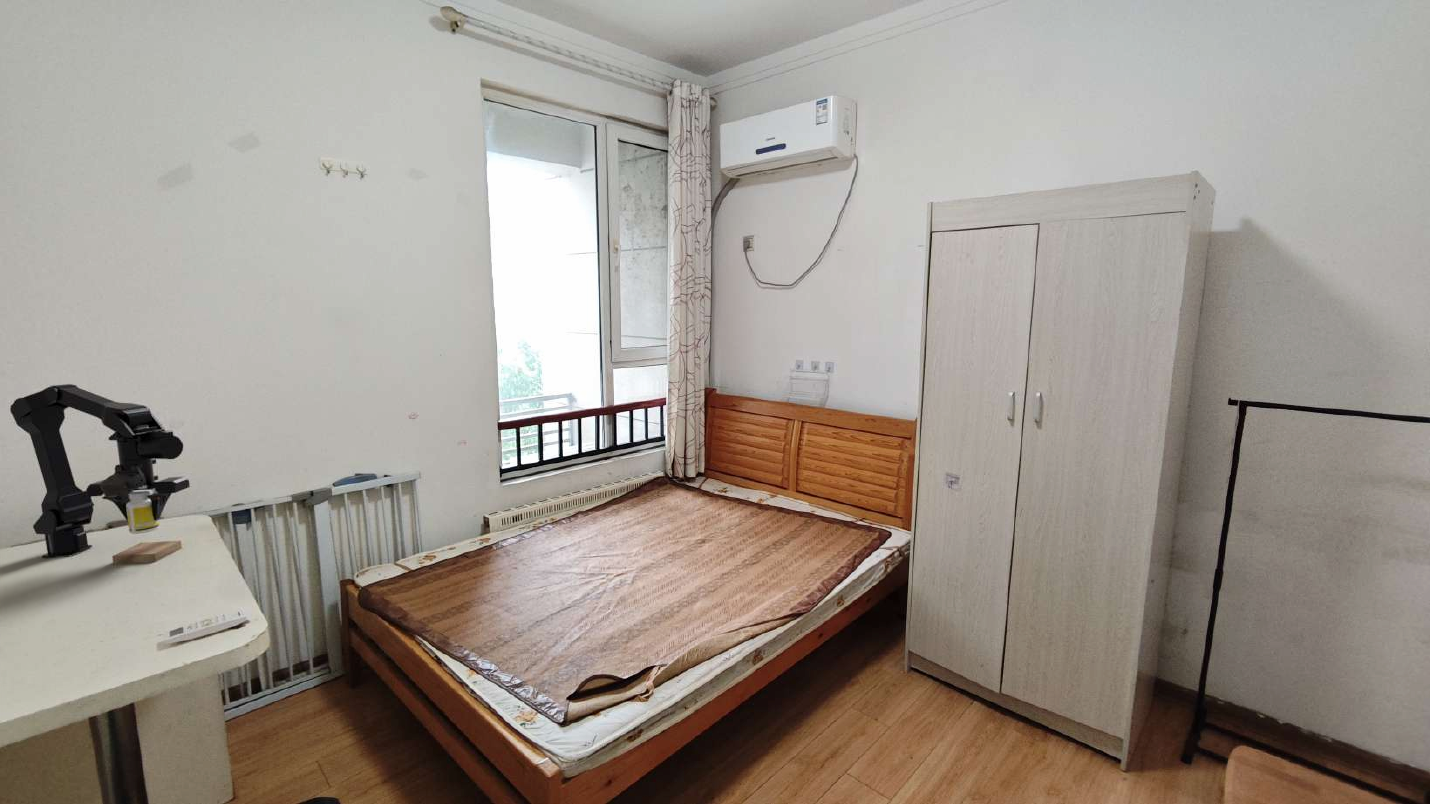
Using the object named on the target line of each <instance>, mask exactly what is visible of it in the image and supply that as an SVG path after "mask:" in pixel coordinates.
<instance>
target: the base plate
mask: <svg viewBox="0 0 1430 804" xmlns="http://www.w3.org/2000/svg"><path fill="white" fill-rule="evenodd" d="M180 549H182V540H170V541H169V540H167V541H149V542H140V543H138V544H135V545H133V546H132V547H131V546H130V547H128V548H126V549H125V550H122V551H120V552H118V553H116V554H114V555H112V564H113V565H120V564H121V565H123V564H135V563H137V564H140V563H153V562H154V563H155V562H157V561H160V560H162V559H164V558H166V557H167V556H169V555H172V554H173V553H175V552H177V551H178V550H180ZM159 559H160V560H159Z"/></svg>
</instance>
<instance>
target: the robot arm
mask: <svg viewBox="0 0 1430 804" xmlns="http://www.w3.org/2000/svg"><path fill="white" fill-rule="evenodd" d="M69 408H71V409H74V410H77V411H79V412H82V413H85V414H87V415H89V416H92V417H95V418H97V419H99V420H101V423H102V426H105V427H107V428H108V429H110V431H111V430H112V431H113V433H112V435H110V436H109V437H108V438H107V439H108V440H109V441H116V447H117V453H118V463H119V464H115V466H114V473H113V474H111V475H110V476H108V477H107V478H105V479H102V480H99V481H96V482H93V483H89V484H88V486H87V488H85V489H86V490H82V489H81V488H80V487H78V486H77V485H76V483H75V482H76V481H75V478H74V476H73V472H72V468H71V465H70V462H69V459H68V454H67V451H66V448H65V445H64V442H63V438H62V435H61V431H60V429H61V426H62V425H63V423H64V421H65V419H66V416H65V410H66V409H69ZM9 410H10V413H11V415H12V417H13V419H14V422H15V423H16V425H17V426H18V427H19V428H20V429H22V430H23V431H25V432H26V433H27V434H28V435H30V439H31V442H32V446H33V449H34V453H35V456H36V460H37V463H38V466H39V469H40V473H41V475H42V479H43V482H44V485H45V489H46V493H45V494H44V495H45V496H44V498H43V500H42V502H41V505H40V506H41V511H42V514H40V516H39V518H38V519H37V520H36V521H35V523H34V524H33V525H32V528H33V531H34V532H35V534H36V535H44V539H45V546H46V552H47V553H44V554H42V555H41V558H57V557H58V558H59V557H70V556H69V555H72V556H74V555H76V554H75V553H77V552H79V553H81V552H83V550H84V551H85V549H86V550H88V549H91V548H93V545H92V544H89V543H88V535H87V532H86V531H85V528H84V526H85V525H90V524H91V523H92V517H93V513H94V506H95V504H94V503H95V502H93V500H92V497H101V496H102V497H101V499H102V500H108V501H109V502H112V503H114V505H115V506H116V507H117V508H118V510H119V512H121V514H122V516H123V517H124V519H126V522H128V517H127V509H126V504H127V503H128V502H130V501H131V499H129V493H130V492H133V491H139V490H151V491H152V493H151V494H150V495H148V496H147V497H148V498H149V499H150V500H151V503H152V512H153V518H154V520H155V521H156V520H158V521H159V520H160V518H161V515H162V514H163V511H164V509H165V506H166V505H167V502H168V500H169V499H170V497H171V495H172V494H176V493H178V492H180V491H183V490H186V489H188V488H191V487H190V480H189V479H188V478H187V477H186V476H172V477H171V476H169V477H166V478H164V479H161V480H159V475H154V466H153V465H155V464H157V460H175V459H177V458H178V457H180V456H181V454H182V453H183V450H184V442H183V441H182V439H180V438H179V437H178V436H176V435H174V431H173V430H166V429H165V427H164V426H163V424H161V422H160V421H159V420H158V419H157V418H156V416H155V415H154V414H153V413H152V411H151V409H150V407H147V406H145V405H142V404H138V403H137V404H136V403H129V402H119V401H114V400H113V399H108V398H106V397H103V396H101V395H98V394H96V393H93V392H91V391H88V390H85V389H82V388H80V387H79V386H77V385H75V384H73V383H72V384H71V383H67V384H57V385H56V384H55V385H50V386H49V387H48V386H47V387H46V388H44V389H43V390H41V391H37V392H34V393H32V394H30V395H26V396H24V397H19V398H16V399H15V400H14V402H13V403H12V404H11V405H10V409H9ZM157 480H159V481H157ZM103 495H104V496H103ZM90 547H91V548H90ZM87 548H88V549H87ZM73 554H74V555H73ZM77 554H78V553H77Z"/></svg>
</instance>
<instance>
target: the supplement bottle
mask: <svg viewBox="0 0 1430 804" xmlns="http://www.w3.org/2000/svg"><path fill="white" fill-rule="evenodd" d="M150 494H152V490H133V492H130V493H129V499H131V501H130V502H128V503H127V504H126V509H127V517H128V521H127V523H128V532H129V533H130V534H132V535H133V534H136V535H138V534H146V533H150V532H154V531H156V530H158V529H160V522H159V520H156V521H155V520H154V518H153V512H152V503H151V500H150V499H149V498H148V497H147V496H148V495H150Z"/></svg>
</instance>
